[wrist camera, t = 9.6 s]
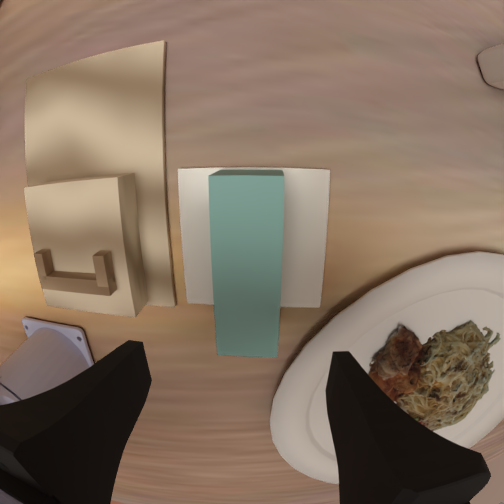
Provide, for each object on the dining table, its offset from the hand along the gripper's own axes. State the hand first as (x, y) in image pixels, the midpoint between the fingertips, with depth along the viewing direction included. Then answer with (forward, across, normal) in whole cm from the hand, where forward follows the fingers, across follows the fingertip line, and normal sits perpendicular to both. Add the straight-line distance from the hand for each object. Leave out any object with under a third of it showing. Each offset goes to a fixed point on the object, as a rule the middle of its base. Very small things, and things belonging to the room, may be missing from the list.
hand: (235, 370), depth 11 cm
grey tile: (+10, 0, -2) cm, 10 cm away
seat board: (+10, +11, -6) cm, 16 cm away
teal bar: (+9, 0, -1) cm, 9 cm away
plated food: (+10, -17, +13) cm, 24 cm away
